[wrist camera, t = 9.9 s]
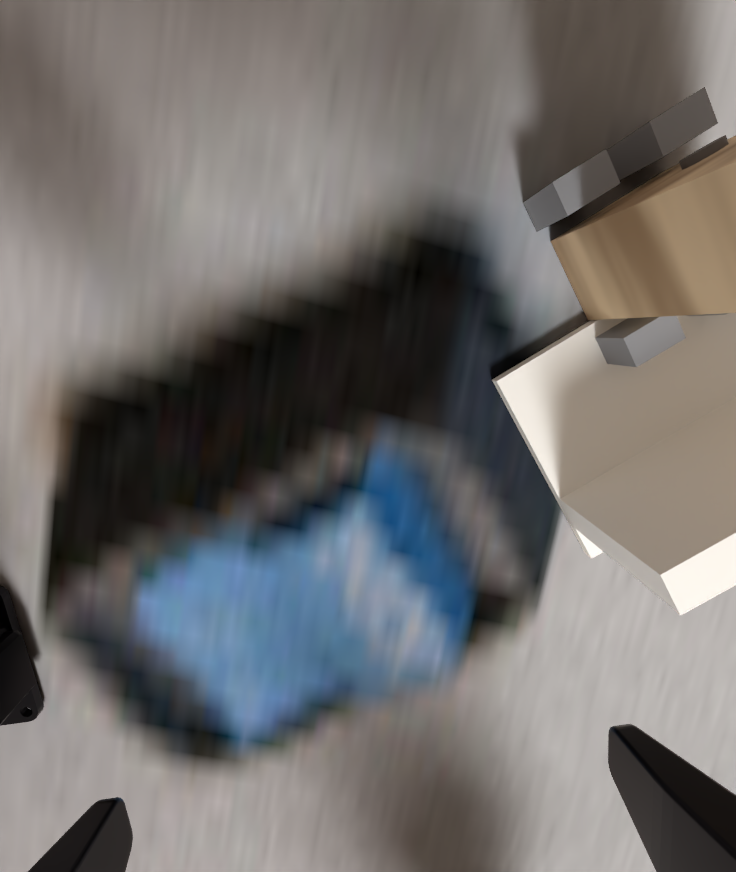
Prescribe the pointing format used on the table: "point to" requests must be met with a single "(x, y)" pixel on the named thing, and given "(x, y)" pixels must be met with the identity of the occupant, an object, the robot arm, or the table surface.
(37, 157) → the table surface
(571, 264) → the wooden building block
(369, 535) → the table surface
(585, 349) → the cream board with pegs
